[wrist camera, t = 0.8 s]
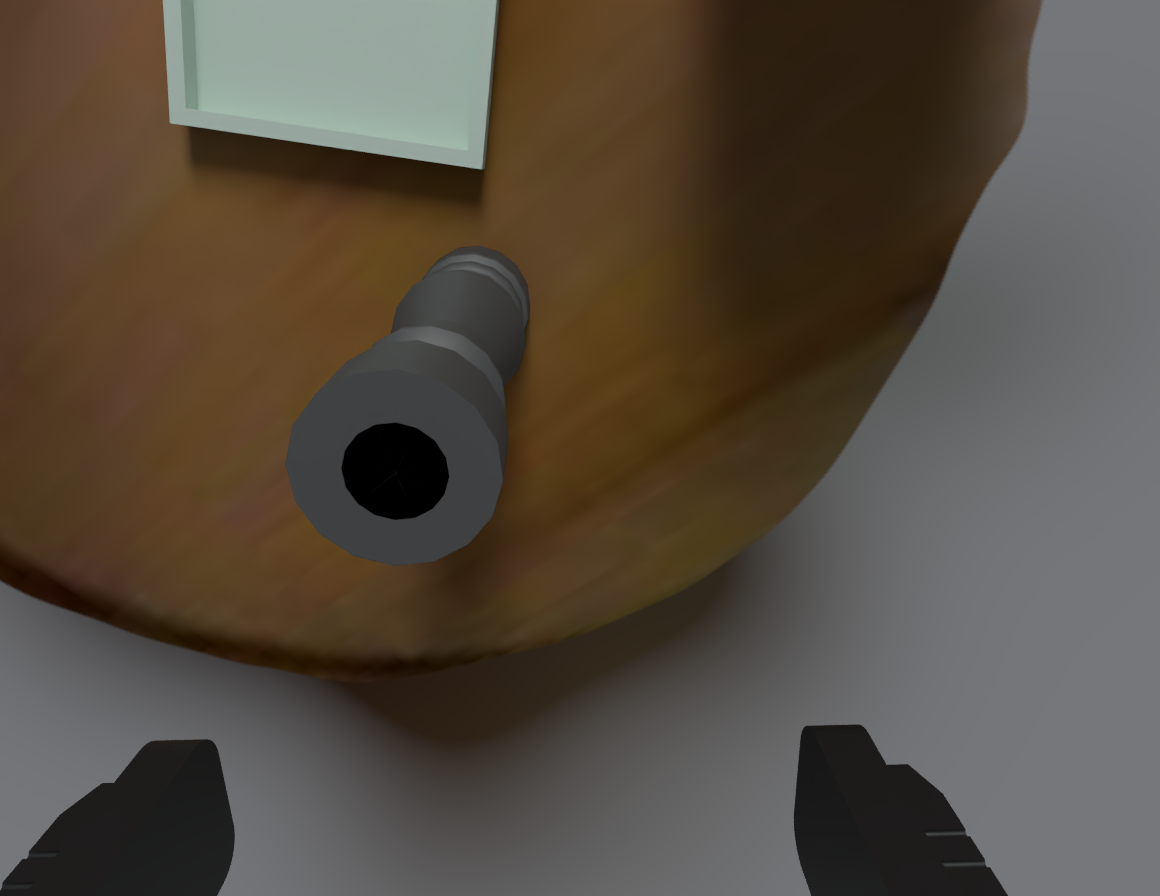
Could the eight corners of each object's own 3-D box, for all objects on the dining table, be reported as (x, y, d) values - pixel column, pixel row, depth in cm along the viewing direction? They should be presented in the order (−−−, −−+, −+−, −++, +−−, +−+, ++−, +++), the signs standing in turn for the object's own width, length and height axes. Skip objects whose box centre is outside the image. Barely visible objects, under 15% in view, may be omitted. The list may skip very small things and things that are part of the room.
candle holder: (472, 372, 44) (393, 612, 21) (400, 292, 42) (224, 459, 19) (551, 307, 43) (560, 485, 20) (481, 222, 41) (398, 307, 18)
